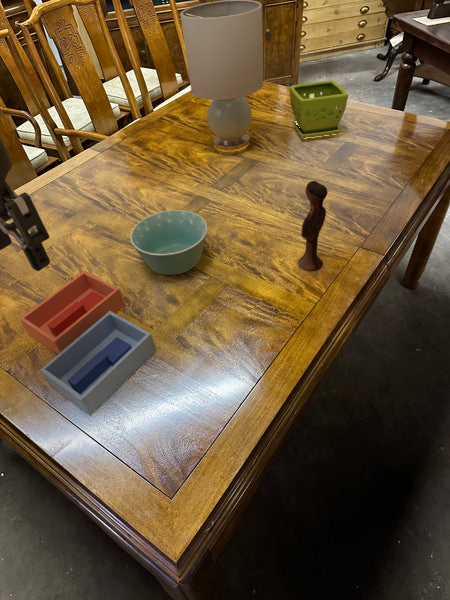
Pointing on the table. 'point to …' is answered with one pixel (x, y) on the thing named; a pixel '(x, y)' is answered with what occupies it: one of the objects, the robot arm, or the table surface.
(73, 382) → the blue bar
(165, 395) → the table surface
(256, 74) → the lamp
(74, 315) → the red stepped block
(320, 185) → the figurine
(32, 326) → the red bin
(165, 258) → the bowl
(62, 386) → the blue bin
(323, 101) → the flower pot
